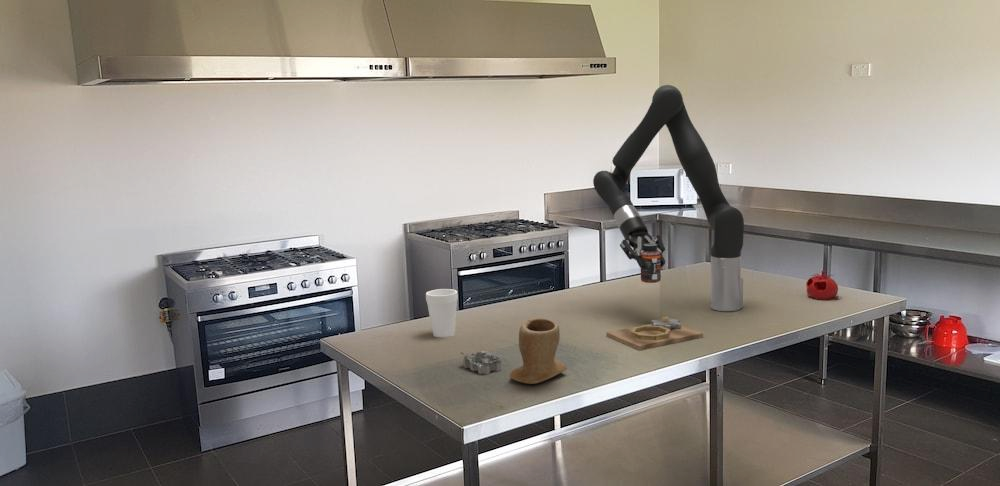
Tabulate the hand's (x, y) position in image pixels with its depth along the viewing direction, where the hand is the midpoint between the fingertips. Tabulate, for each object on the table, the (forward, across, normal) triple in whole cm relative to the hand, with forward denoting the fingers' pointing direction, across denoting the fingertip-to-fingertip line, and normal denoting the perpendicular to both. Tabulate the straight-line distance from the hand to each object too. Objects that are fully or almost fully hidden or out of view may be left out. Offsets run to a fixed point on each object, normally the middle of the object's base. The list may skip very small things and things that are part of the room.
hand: (654, 266), depth 233 cm
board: (+20, -8, +5) cm, 22 cm away
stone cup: (+29, -52, -4) cm, 60 cm away
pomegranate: (+16, +65, +10) cm, 68 cm away
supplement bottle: (+2, 0, +5) cm, 5 cm away
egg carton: (+18, -61, +7) cm, 64 cm away
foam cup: (-6, -58, +31) cm, 66 cm away
